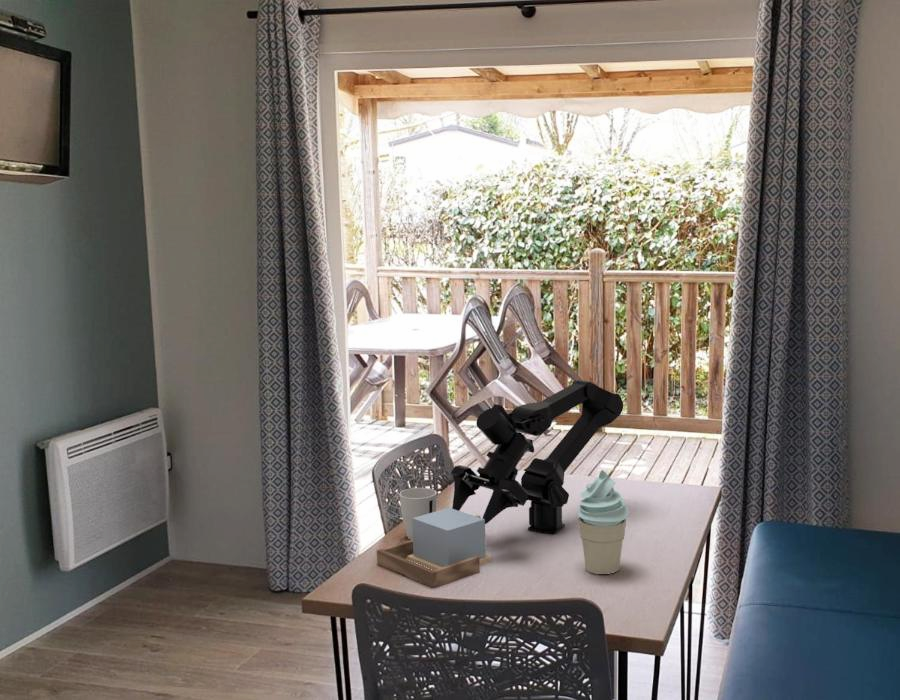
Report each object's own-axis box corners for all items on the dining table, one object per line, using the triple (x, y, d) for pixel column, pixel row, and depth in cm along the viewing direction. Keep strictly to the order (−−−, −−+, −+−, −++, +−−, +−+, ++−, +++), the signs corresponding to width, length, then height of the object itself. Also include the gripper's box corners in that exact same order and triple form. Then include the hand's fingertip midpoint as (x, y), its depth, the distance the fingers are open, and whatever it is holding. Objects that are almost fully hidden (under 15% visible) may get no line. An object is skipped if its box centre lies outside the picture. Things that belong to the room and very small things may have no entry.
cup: (433, 544, 215) (432, 499, 213) (396, 542, 216) (395, 497, 215) (441, 531, 222) (440, 488, 221) (405, 530, 224) (404, 487, 223)
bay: (423, 549, 211) (423, 536, 211) (479, 571, 198) (479, 557, 198) (377, 564, 203) (376, 550, 203) (432, 588, 190) (432, 573, 190)
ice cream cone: (581, 580, 192) (581, 479, 189) (574, 559, 203) (574, 464, 200) (634, 579, 192) (634, 478, 189) (623, 558, 203) (624, 463, 200)
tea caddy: (451, 546, 213) (450, 505, 212) (491, 561, 204) (490, 519, 202) (407, 560, 205) (406, 518, 204) (447, 576, 196) (446, 532, 195)
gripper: (556, 486, 210) (519, 549, 204) (495, 470, 224) (459, 528, 218) (530, 456, 204) (491, 520, 198) (468, 441, 218) (430, 500, 212)
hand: (468, 518), depth 207 cm, fingers open, 9 cm apart
